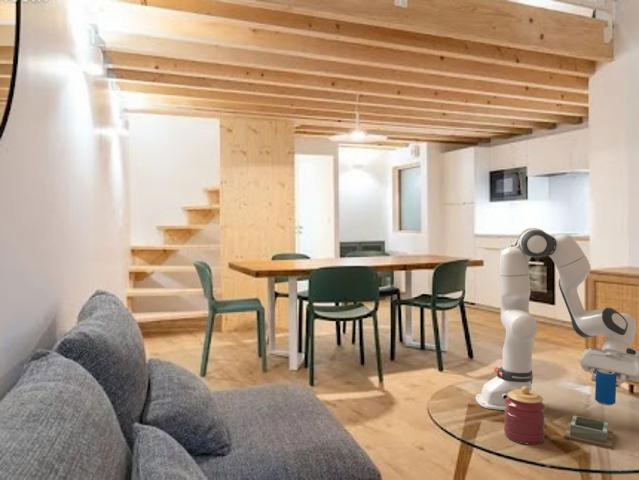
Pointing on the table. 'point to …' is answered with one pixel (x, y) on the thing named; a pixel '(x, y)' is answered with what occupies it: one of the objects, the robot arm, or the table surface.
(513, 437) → the canister
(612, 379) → the beverage can
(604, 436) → the cradle
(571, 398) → the table surface
